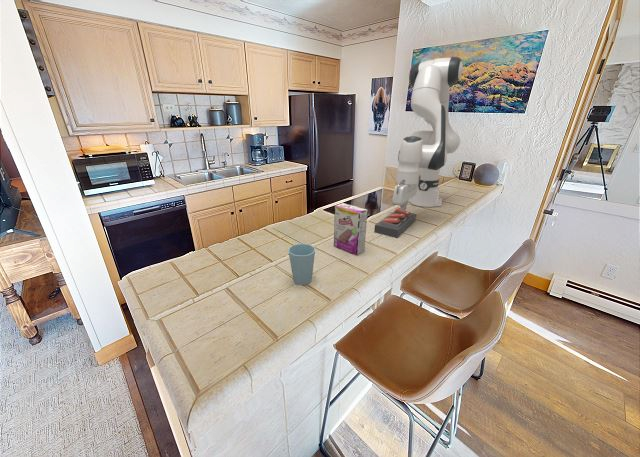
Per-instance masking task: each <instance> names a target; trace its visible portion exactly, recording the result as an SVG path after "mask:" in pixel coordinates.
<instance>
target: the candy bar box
mask: <svg viewBox="0 0 640 457" xmlns="http://www.w3.org/2000/svg"><path fill="white" fill-rule="evenodd" d="M368 211H369V210H368V209H366V208H362V207H359V206H355V205H351V204H348V203H344V202H342V203H339V204H336V205H334V222H333V223H334V227H333V228H334V229H333V231H334V232H333V247H334V248H337V249H339V250H342V251H344V252H346V253H347V252H348V253H350V254H352V255H355V256H359V255H361V254H362V253H364V252H365V251H366V250H365V248H366V232H367V220H368Z"/></svg>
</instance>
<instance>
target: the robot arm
mask: <svg viewBox="0 0 640 457" xmlns="http://www.w3.org/2000/svg"><path fill="white" fill-rule="evenodd" d="M409 70H410V71H409V74H408V82H409V85H410V86H411V87H412V92H411V96H410V98H411V100H410V107H411V110H412V112H414V113H415V114H416V115H417V116H419V117H421V118H422V119H423V120H424V121H425V123H427V124H428V125H430V126H431V128H432V130H418V131H414V132H413V133H411V135H410V136H406V137H404V138H402V141H401V142H400V143H401V144H400V148H399V151H398V155H397V161H398V167H397V169H396V170H397V171H396V178H395V182H396V183H397V185H395V187H394V190H393V195H392V200H391V201H392V204H393V205H396V206H400V207H399V208H400V210H401V211H404V210H405V211H407V207H408V204H409V203H410V204H412V205H414V206H417V207H424V208H431V207H433V208H434V207H442V202H443V198H441V196H439V194H440V189H439V183H440V173H441V172H440V171H441V169H442V168H443V167H444V166H445V165H446V162H447V158H448V154H453V153H455V152H456V151H457V150H458V149H459V147H460V144H461V138H460V135H459V134H458V133H457V132H456V131H455V130H454V129H453V127H452V125H451V124H450V120H449V104H450V92H451V90H450V88H452V87H453V85H455V84H457V82H459V81H460V79H461V76H462V75H463V70H464V65H463V60H462V59H461V58H460V57H459V56H451V57H437V58H435V59H429V60H425V61H422V62H421V61H419V62H416V63H413V65H412V66H411V67H410V69H409Z"/></svg>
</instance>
